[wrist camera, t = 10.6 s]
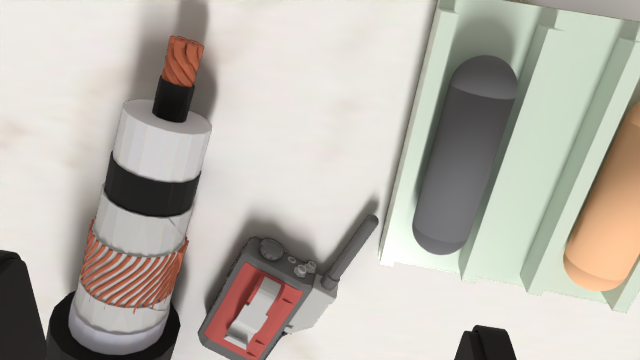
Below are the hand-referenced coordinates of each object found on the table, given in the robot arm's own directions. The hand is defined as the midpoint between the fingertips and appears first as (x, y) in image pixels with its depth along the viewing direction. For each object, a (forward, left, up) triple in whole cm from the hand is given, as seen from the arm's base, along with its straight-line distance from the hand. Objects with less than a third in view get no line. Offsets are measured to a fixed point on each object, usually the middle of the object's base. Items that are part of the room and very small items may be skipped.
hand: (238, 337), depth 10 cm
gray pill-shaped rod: (+3, +9, -22) cm, 24 cm away
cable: (+16, -14, -25) cm, 33 cm away
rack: (+3, +14, -25) cm, 29 cm away
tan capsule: (+4, +20, -22) cm, 30 cm away
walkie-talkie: (+18, -2, -25) cm, 31 cm away
